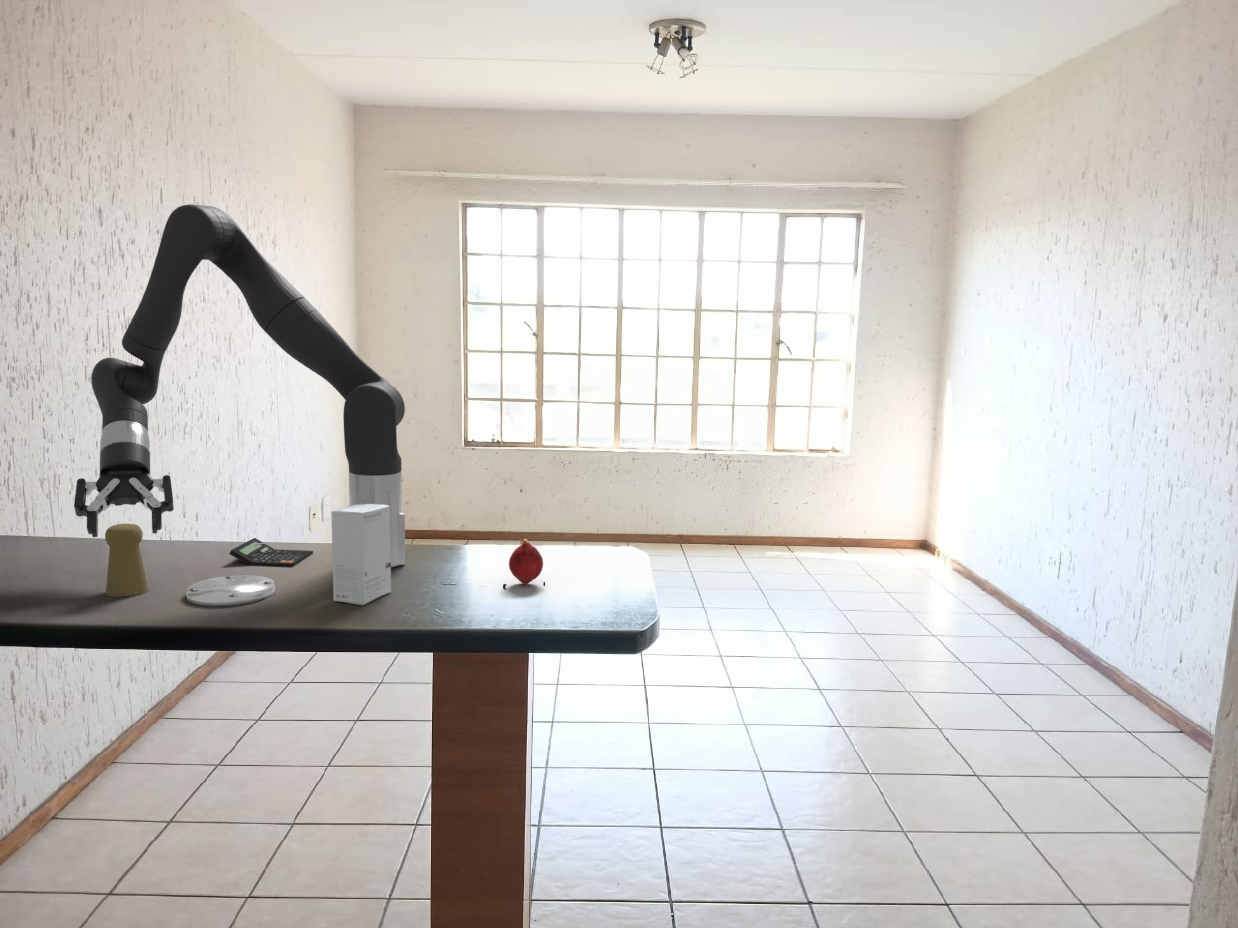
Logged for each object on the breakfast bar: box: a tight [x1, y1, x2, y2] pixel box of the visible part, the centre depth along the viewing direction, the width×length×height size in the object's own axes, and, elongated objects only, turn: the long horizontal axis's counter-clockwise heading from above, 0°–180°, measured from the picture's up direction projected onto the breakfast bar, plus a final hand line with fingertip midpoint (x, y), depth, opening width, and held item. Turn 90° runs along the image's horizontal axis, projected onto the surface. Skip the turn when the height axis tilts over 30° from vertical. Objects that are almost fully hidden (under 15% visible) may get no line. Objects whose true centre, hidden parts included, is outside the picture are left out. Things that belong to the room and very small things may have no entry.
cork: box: [104, 523, 149, 598], centre depth 139 cm, size 6×6×11 cm
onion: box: [508, 538, 544, 586], centre depth 150 cm, size 6×6×8 cm
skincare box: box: [330, 504, 392, 606], centre depth 140 cm, size 8×6×15 cm
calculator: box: [229, 537, 314, 568], centre depth 161 cm, size 9×12×3 cm
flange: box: [185, 574, 276, 607], centre depth 140 cm, size 13×13×1 cm
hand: (125, 532), depth 141 cm, fingers open, 8 cm apart
